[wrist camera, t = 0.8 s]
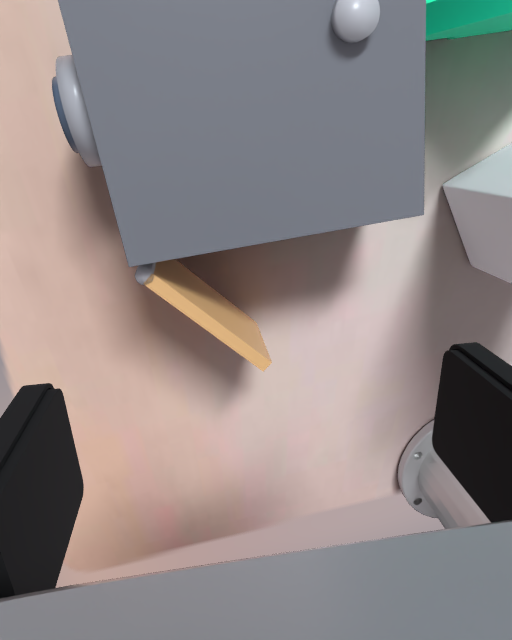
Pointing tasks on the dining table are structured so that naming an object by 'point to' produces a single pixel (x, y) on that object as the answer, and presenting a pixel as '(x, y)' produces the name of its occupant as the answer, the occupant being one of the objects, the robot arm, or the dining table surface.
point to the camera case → (246, 116)
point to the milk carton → (485, 212)
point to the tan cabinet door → (205, 308)
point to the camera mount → (466, 18)
